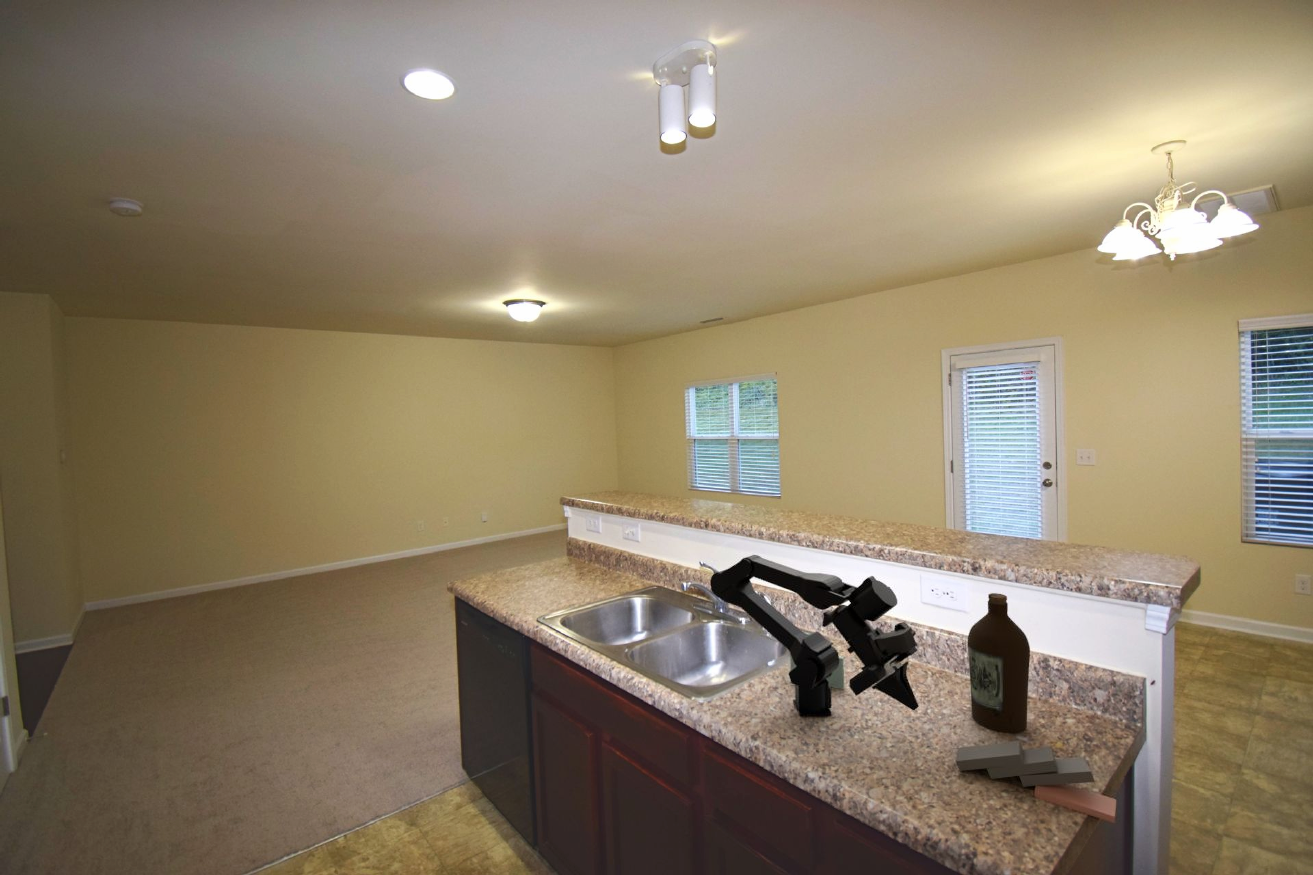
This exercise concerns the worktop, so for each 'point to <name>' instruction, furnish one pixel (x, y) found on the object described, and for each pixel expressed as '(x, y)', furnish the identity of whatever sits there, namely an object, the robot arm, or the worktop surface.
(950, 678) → the worktop surface
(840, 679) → the right angle wall
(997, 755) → the domino
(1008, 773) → the domino
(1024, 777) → the domino
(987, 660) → the olive oil
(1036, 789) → the domino
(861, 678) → the robot arm
